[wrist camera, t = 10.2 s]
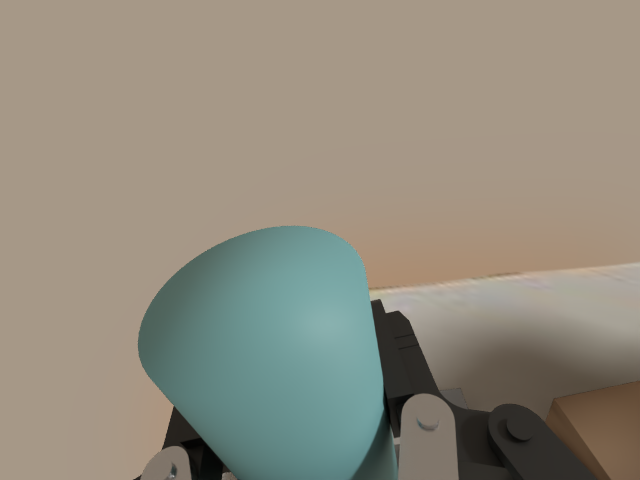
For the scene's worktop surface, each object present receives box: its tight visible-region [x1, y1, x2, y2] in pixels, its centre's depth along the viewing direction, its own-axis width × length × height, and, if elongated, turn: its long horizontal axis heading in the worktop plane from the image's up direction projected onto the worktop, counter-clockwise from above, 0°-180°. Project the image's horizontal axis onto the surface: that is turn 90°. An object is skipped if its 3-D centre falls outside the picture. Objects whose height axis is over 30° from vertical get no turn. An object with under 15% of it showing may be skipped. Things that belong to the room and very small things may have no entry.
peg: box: [138, 226, 398, 480], centre depth 11 cm, size 5×5×12 cm
